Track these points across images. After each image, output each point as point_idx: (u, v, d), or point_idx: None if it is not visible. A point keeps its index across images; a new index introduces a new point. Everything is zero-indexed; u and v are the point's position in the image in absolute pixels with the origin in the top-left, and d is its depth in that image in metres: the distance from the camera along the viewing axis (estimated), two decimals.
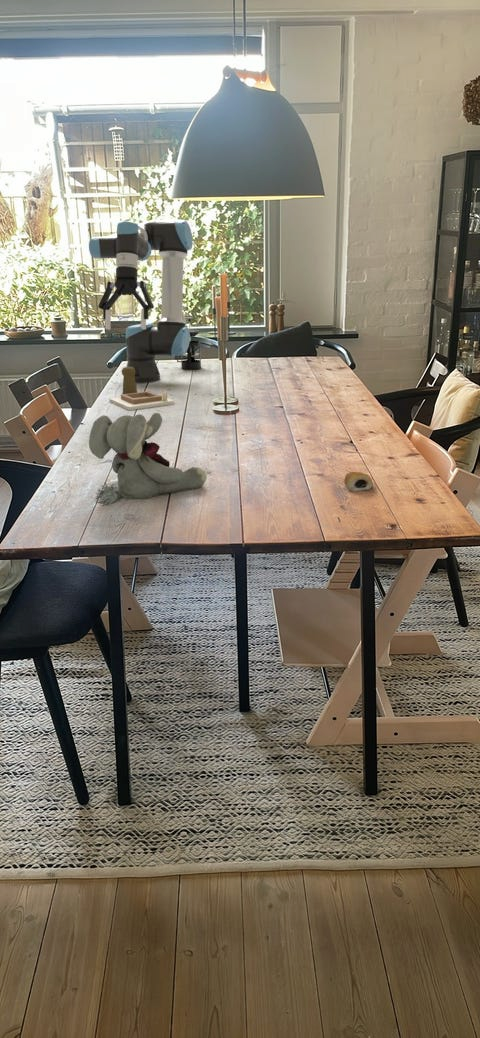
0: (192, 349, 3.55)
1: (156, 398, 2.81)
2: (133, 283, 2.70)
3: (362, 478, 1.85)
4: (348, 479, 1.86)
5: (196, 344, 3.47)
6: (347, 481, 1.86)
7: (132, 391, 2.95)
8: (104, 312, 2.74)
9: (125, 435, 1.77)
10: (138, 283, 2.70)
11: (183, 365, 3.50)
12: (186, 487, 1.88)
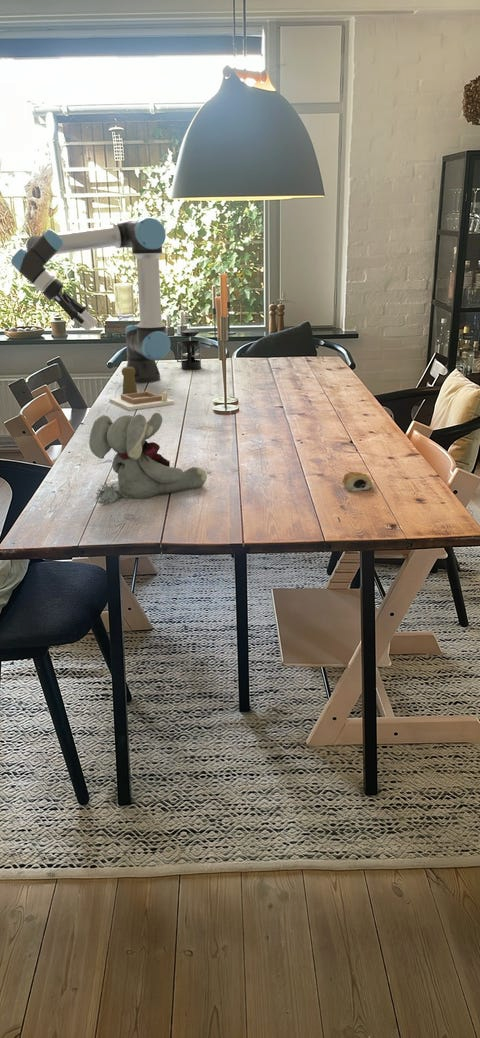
0: (192, 349, 3.55)
1: (156, 398, 2.81)
2: None
3: (361, 478, 1.85)
4: (347, 479, 1.86)
5: (196, 344, 3.47)
6: (346, 481, 1.86)
7: (132, 391, 2.95)
8: None
9: (125, 435, 1.77)
10: None
11: (183, 365, 3.50)
12: (186, 487, 1.88)
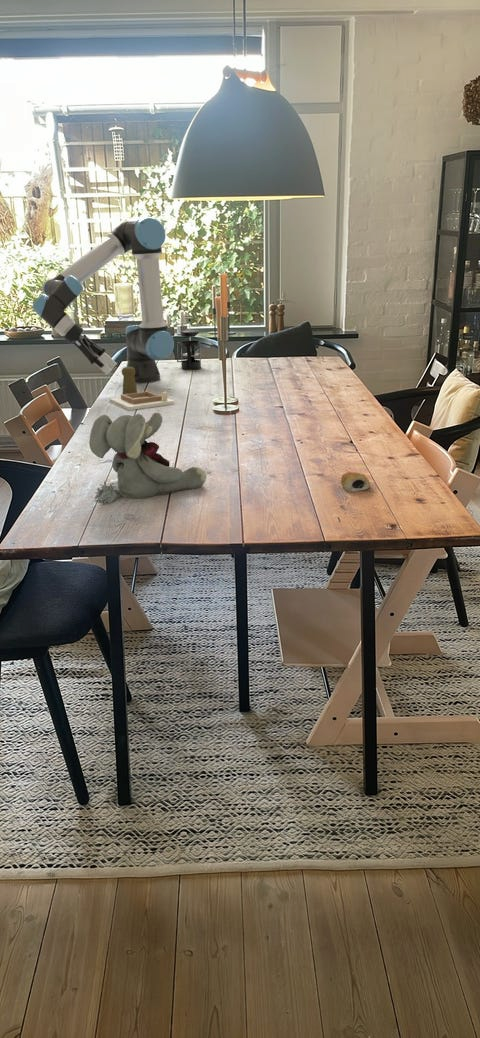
0: (192, 349, 3.55)
1: (156, 398, 2.81)
2: None
3: (359, 478, 1.84)
4: (345, 480, 1.86)
5: (196, 344, 3.47)
6: (344, 482, 1.86)
7: (132, 391, 2.95)
8: None
9: (124, 434, 1.78)
10: None
11: (183, 365, 3.50)
12: (186, 487, 1.88)
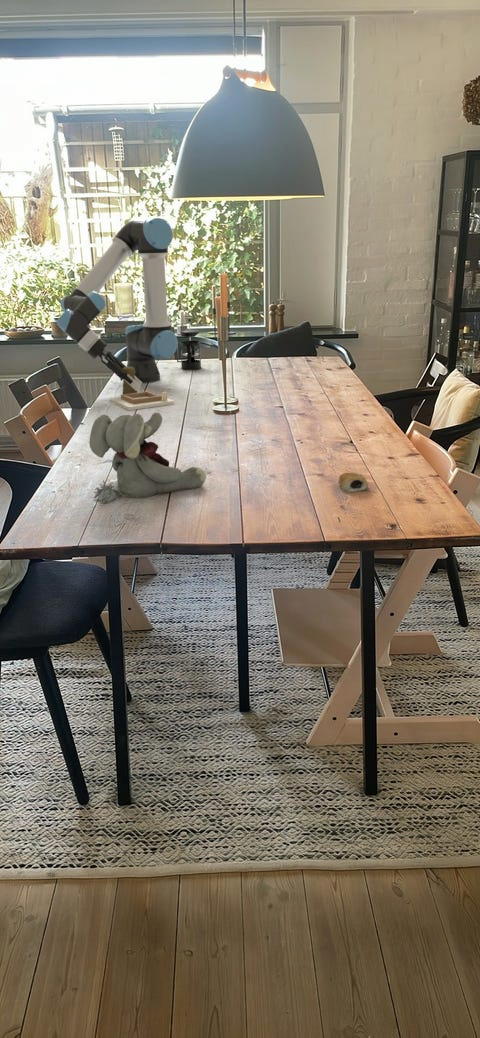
0: (192, 349, 3.55)
1: (156, 398, 2.81)
2: None
3: (357, 479, 1.84)
4: (343, 480, 1.86)
5: (196, 344, 3.47)
6: (342, 482, 1.86)
7: (132, 391, 2.95)
8: None
9: (123, 434, 1.78)
10: None
11: (183, 365, 3.50)
12: (185, 487, 1.88)
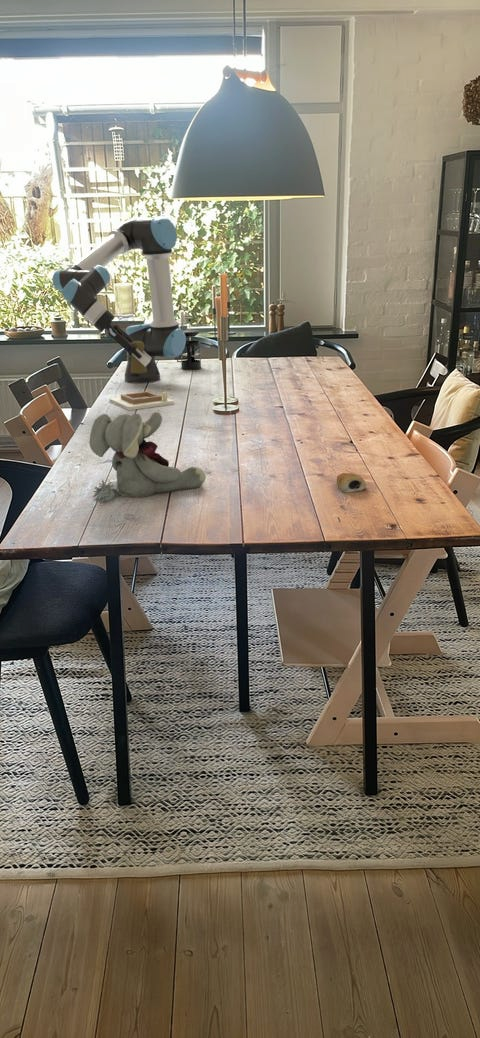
0: (192, 349, 3.55)
1: (156, 398, 2.81)
2: None
3: (356, 479, 1.84)
4: (341, 480, 1.85)
5: (196, 344, 3.47)
6: (340, 482, 1.85)
7: (141, 367, 2.78)
8: None
9: (122, 434, 1.78)
10: None
11: (183, 365, 3.50)
12: (184, 487, 1.88)
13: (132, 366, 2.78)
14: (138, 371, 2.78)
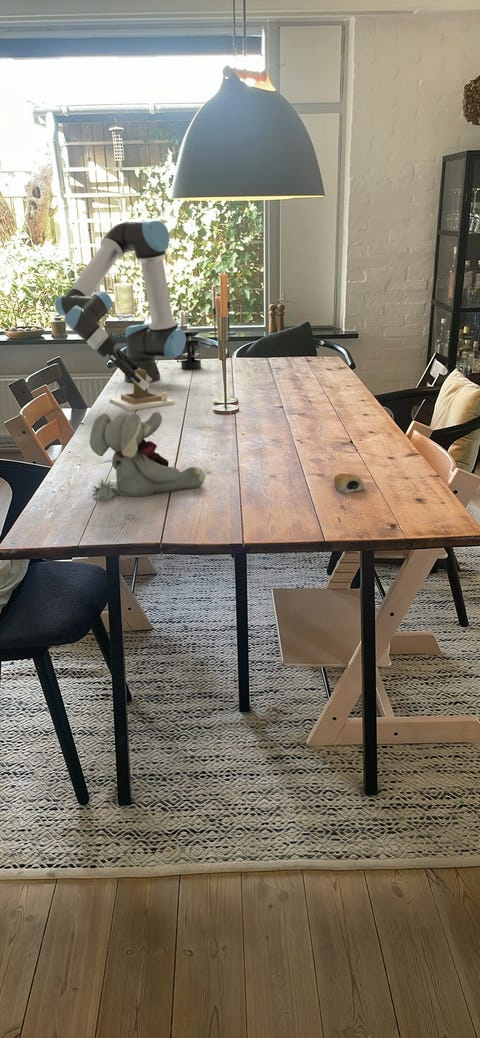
0: (192, 349, 3.55)
1: (156, 398, 2.81)
2: None
3: (354, 479, 1.84)
4: (339, 481, 1.85)
5: (196, 344, 3.47)
6: (338, 483, 1.85)
7: (143, 395, 2.82)
8: None
9: (121, 433, 1.79)
10: None
11: (183, 365, 3.50)
12: (183, 486, 1.88)
13: (135, 394, 2.82)
14: None
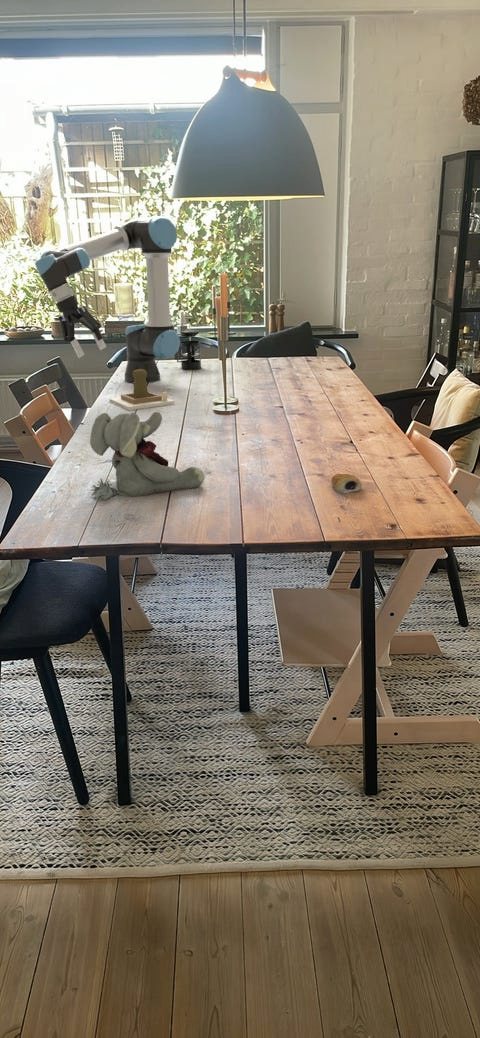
0: (192, 349, 3.55)
1: (156, 398, 2.81)
2: (74, 312, 2.77)
3: (352, 480, 1.84)
4: (337, 481, 1.85)
5: (196, 344, 3.47)
6: (336, 483, 1.85)
7: (143, 395, 2.82)
8: (71, 343, 2.88)
9: (120, 433, 1.79)
10: (78, 310, 2.76)
11: (183, 365, 3.50)
12: (183, 486, 1.88)
13: (135, 394, 2.82)
14: None
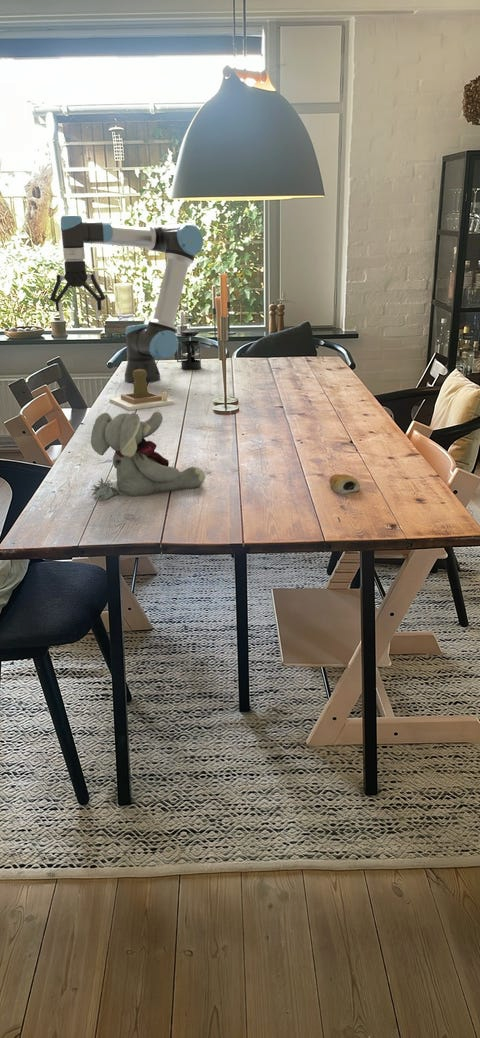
0: (192, 349, 3.55)
1: (156, 398, 2.81)
2: (84, 276, 2.82)
3: (350, 480, 1.83)
4: (336, 482, 1.84)
5: (196, 344, 3.47)
6: (335, 484, 1.84)
7: (143, 395, 2.82)
8: (56, 304, 2.86)
9: (120, 433, 1.79)
10: (88, 276, 2.83)
11: (183, 365, 3.50)
12: (183, 486, 1.88)
13: (135, 394, 2.82)
14: None
